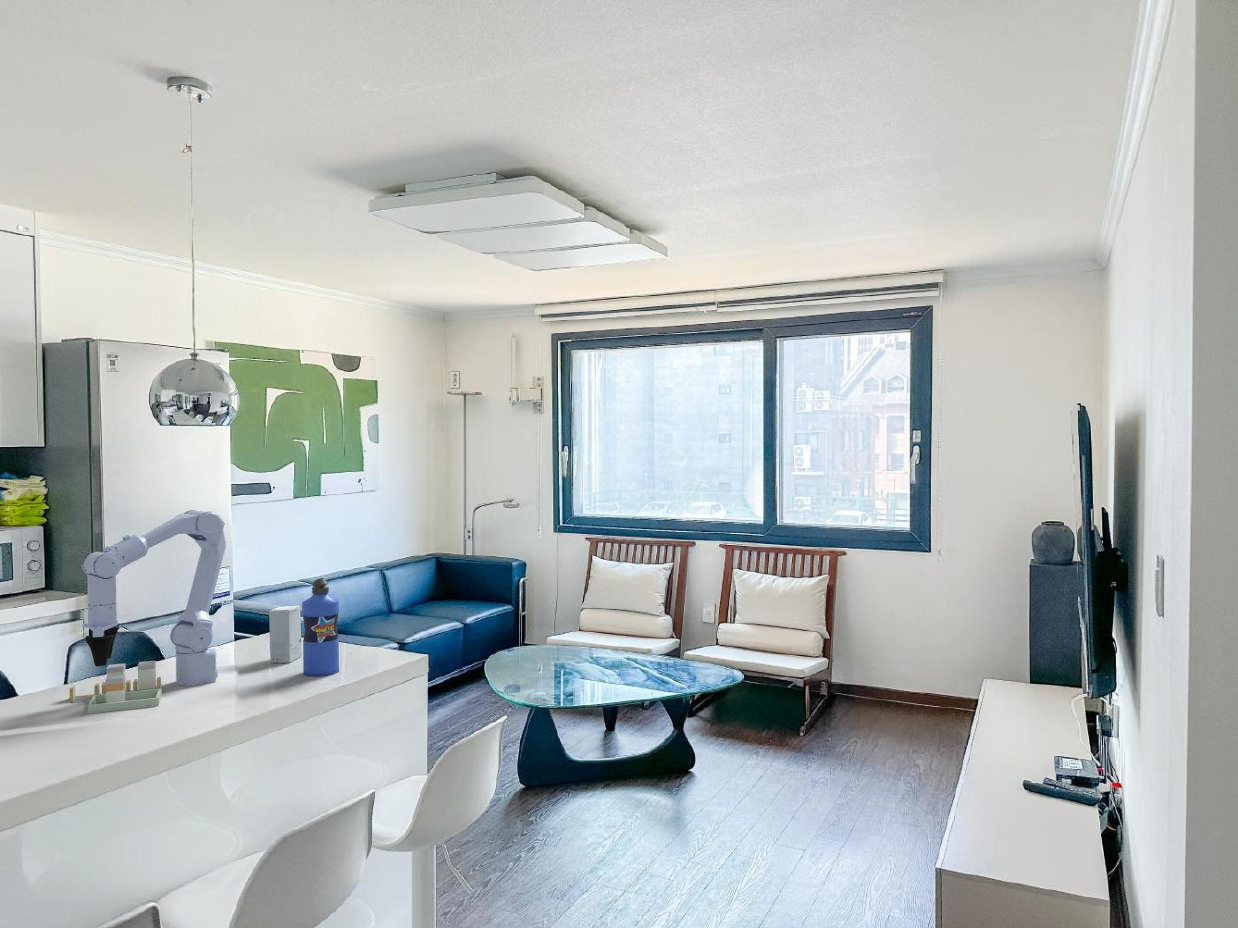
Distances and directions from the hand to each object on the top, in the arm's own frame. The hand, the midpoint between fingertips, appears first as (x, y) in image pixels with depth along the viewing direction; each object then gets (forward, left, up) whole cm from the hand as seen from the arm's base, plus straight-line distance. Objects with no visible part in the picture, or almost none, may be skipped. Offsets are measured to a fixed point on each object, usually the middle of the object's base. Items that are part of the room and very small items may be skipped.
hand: (103, 662), depth 203 cm
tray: (-5, +5, -10) cm, 12 cm away
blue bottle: (-49, -11, -10) cm, 51 cm away
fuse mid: (-2, -5, -9) cm, 11 cm away
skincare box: (-41, -30, -10) cm, 52 cm away
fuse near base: (-9, -5, -9) cm, 13 cm away
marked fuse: (-3, +5, -10) cm, 11 cm away
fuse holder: (-2, -5, -10) cm, 12 cm away
